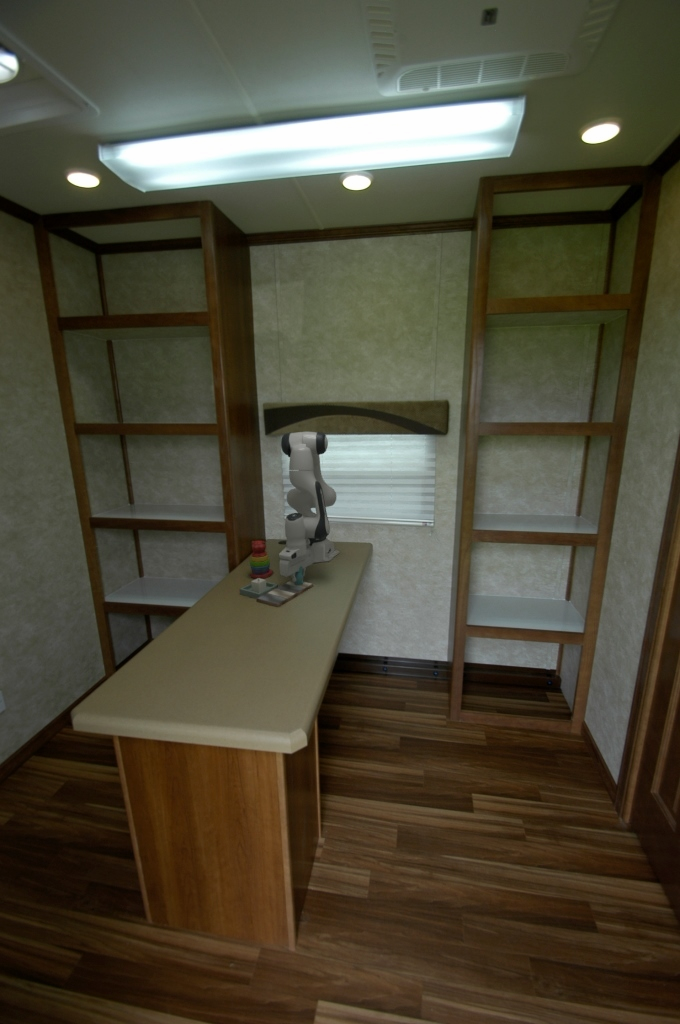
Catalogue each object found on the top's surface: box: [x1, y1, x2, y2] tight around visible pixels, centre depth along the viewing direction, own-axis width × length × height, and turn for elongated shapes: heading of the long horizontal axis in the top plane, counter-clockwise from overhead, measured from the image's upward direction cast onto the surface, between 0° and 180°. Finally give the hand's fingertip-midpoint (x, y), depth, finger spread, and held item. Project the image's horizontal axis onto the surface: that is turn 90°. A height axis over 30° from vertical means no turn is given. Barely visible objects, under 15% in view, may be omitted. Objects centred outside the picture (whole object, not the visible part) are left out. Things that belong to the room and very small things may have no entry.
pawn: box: [294, 566, 304, 585], centre depth 192 cm, size 4×4×10 cm
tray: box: [238, 581, 279, 600], centre depth 189 cm, size 12×12×2 cm
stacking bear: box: [249, 540, 275, 580], centre depth 207 cm, size 11×10×18 cm
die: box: [250, 578, 267, 593], centre depth 189 cm, size 4×4×5 cm
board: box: [255, 579, 314, 608], centre depth 186 cm, size 24×12×1 cm, turn 147°
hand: (298, 579), depth 193 cm, fingers closed on pawn, 4 cm apart
